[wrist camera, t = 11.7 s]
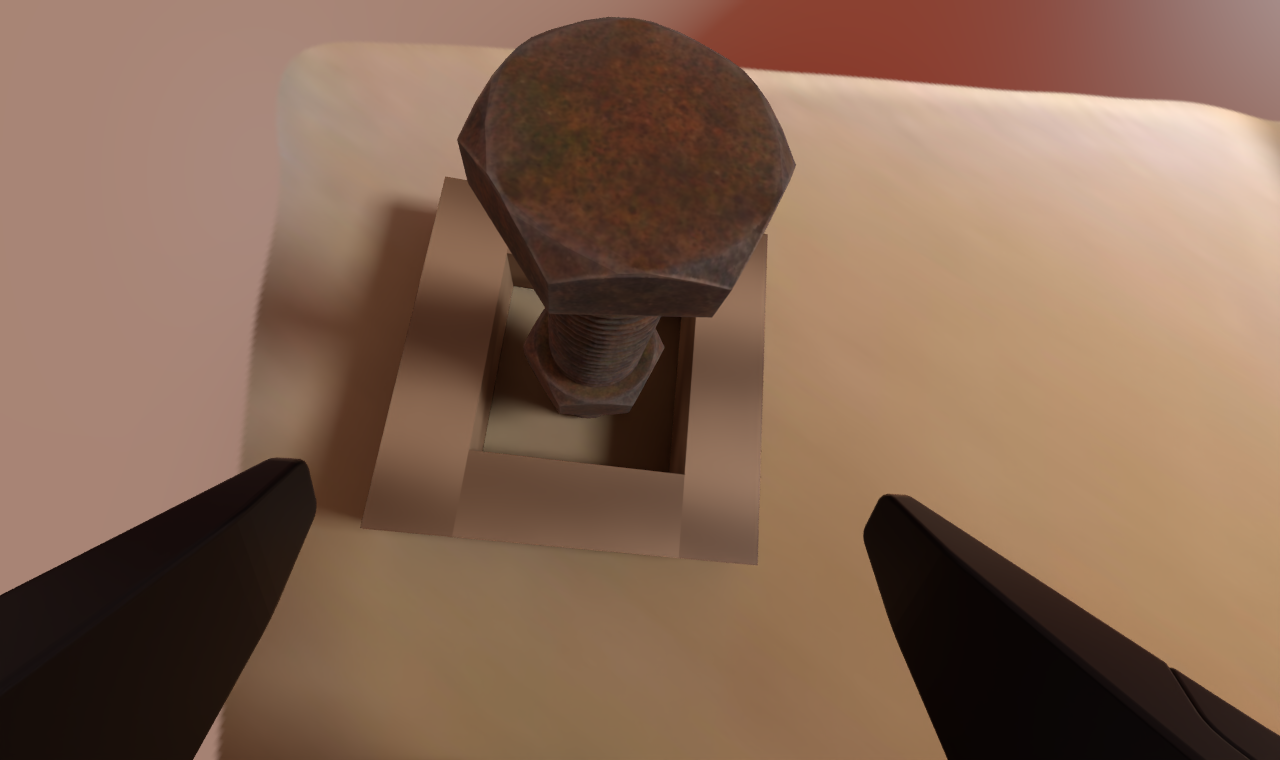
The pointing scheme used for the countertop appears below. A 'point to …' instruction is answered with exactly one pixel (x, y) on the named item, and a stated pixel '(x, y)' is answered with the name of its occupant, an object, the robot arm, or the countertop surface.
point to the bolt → (621, 193)
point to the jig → (553, 489)
